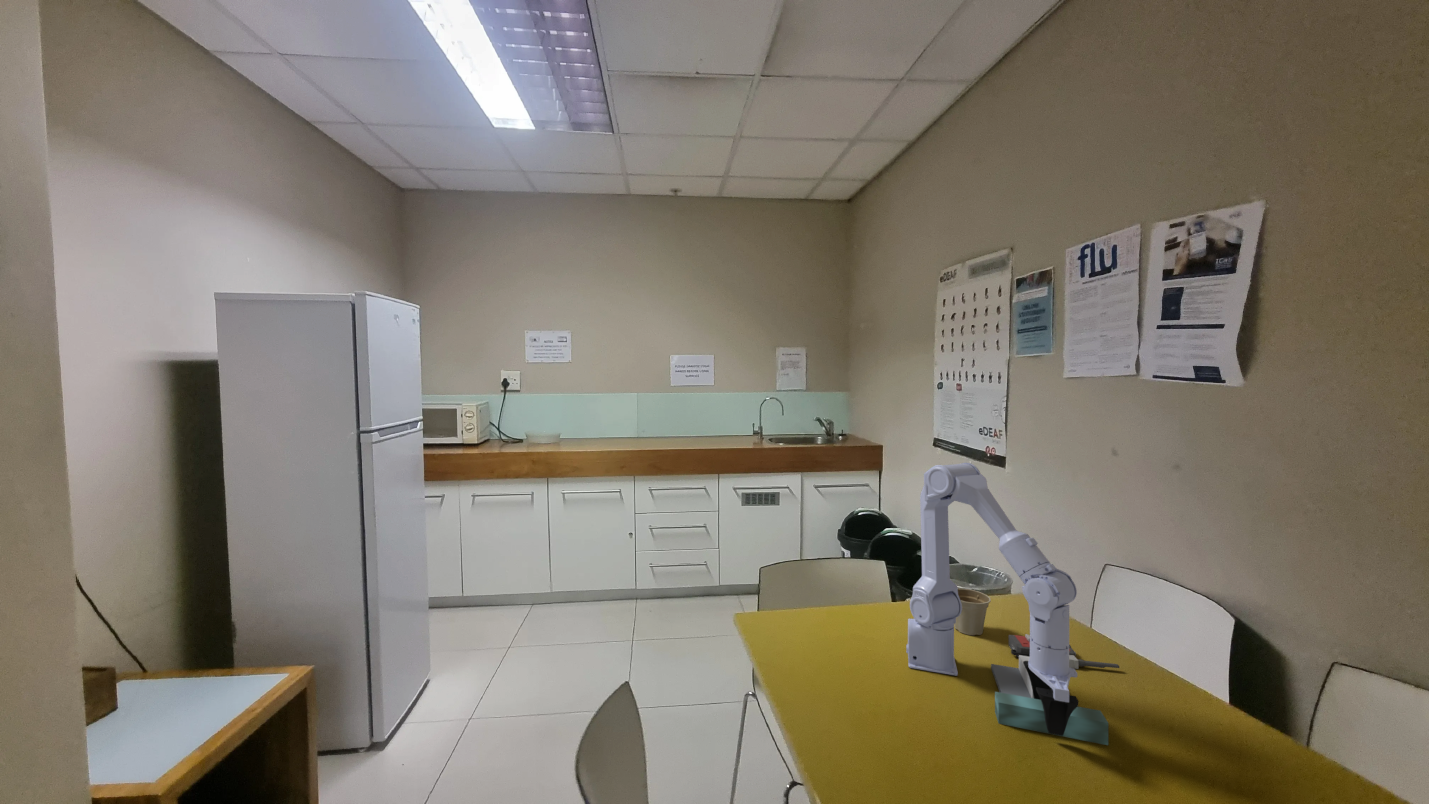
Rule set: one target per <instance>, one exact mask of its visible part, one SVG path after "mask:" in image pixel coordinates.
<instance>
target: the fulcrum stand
mask: <svg viewBox="0 0 1429 804" xmlns="http://www.w3.org/2000/svg"><path fill="white" fill-rule="evenodd" d="M1029 659H1030V657H1028V656H1022V655H1019V658H1018V667H1015V666H1014V667H1012V666H1008V665H1007V666H1006V665H1001V664H1000V665H999V664H994V663H991V665H990V669H991V672H992V675H993V678H994V680H995V683H996V686H997V689H998V692H1000V693H1006V694H1011V695H1017V696H1022V697H1028V698H1033V699H1034V696H1033V691H1032V686H1031V681H1030V678H1029V675H1028V672H1027V670H1026V668H1025V666H1024V664H1023V662H1024V661H1029Z"/></svg>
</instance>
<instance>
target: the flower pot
mask: <svg viewBox="0 0 1429 804" xmlns="http://www.w3.org/2000/svg"><path fill="white" fill-rule="evenodd" d="M958 595H959V598H960V600H961V603H962V612H961V614H960V615H959V616H958V617H956V623H955V624H954V630H957V631H958V632H959V633H961V634H965V635H968V636H975V635H978V636H981V635H982V634H983V632H984V628H985V620H986V615H987V610H988V609H987V608H989V604H990V603H991V600H992V599H991V597H990V596H989V595H988V594H986V593H984V592H980V591H978V590H974V589H969V588H968V589H967V588H958Z"/></svg>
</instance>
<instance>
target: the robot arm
mask: <svg viewBox="0 0 1429 804" xmlns="http://www.w3.org/2000/svg"><path fill="white" fill-rule="evenodd" d="M919 501H920V504H919V505H920V506H919V507H920V510H919V511H920V540H921V542H920V543H921V545H920V546H921V549H920V551H921V577H920V578H919V579H918V580H917V581H916V583H914V585H913V587H912V595H911V597H910V600H909V609H910V613H911V615H912V617H913V618H908V619H907V643H906V649H905V650H906V654H907V658H908V659H907V660H908V663H907V664H908V667H909V668H910V669H915V670H921V671H925V672H926V671H927V672H933V673H938V674H944V675H950V676H956V677H957V676H959V673H958V668H957V664H956V659H955V623H956V617H958V616H959V615H960V614H961V612H962V603H961V600H960V598H959V595H958V589H959V588H958V585H957V584H956V583H955V582H954V581H953V580H951V578H950V577H951V576H950V574H951V572H950V570H951V569H950V539H949V538H950V535H949V530H950V529H949V506H950V505H951V504H953V503H954V502H958V503H961V504H965V505H969V506H971V508H973V510H974V511H975V512H976V514H978V515H979V517H980V518H981V519H982V520H983V522H984V523H985V524H986V526H988V528H989V529H990V530H991V531H992V532H993V533H994V535H995V537H997V539H998V540H999V541H998V543H999V544H998V550H999V552H1000V553H1001V554H1002V555H1003V557H1004V558H1005V559H1006V561H1007V563H1008V564H1009V566H1010V567H1011V568H1012V569H1013V571H1014V573H1016V575H1017V576H1018V577H1019V579H1020V580H1021V581H1022V583H1023V584H1024V585H1022V586H1021V590H1022V595H1023V596H1024V598H1025V600H1026V601H1027V604H1028V611H1029V636H1030V659H1029V661H1024V662H1023V664H1024V666H1025V668H1026V670H1027V672H1028V675H1029V678H1030V681H1031V686H1032V691H1033V696H1034V699H1039V700H1041V702H1042V705H1043V709H1044V715H1045V722H1046V726H1047V730H1048V732H1049V733H1051V734H1050V735H1054V734H1056V735H1055V736H1059V735H1061V736H1060V737H1064V736H1063V734H1064V732H1065V729H1066V725H1067V722H1068V719H1069V717H1070V715H1071V713H1072V712H1073V711H1074V709H1075V708H1076V707H1079V699H1078V698H1077V696H1076V695H1071V694H1070V690H1069V685H1070V682H1071V681H1070V680H1071V678H1077V677H1078V672H1077V671H1076V670H1077V669H1073V668H1070V667H1069V645H1070V605H1069V604H1070V603H1072V602H1073V601H1074V600H1075V599H1076V597H1077V586H1076V584H1075V582H1074V581H1073V578H1072V577H1071V575H1070V574H1068V573H1067V572H1065V571H1064V570H1061V569H1059V568H1057V567H1056V566H1055V564H1053V563H1051V561H1049V560H1048V558H1047V557H1046V556H1045V554H1044V553H1043V551H1041V549H1040V548H1039V547H1038V544H1039V543H1038V542H1037V540H1036V539H1035V538H1034V537H1030V535H1029V534H1028V533H1026V532H1022V531H1019V530H1017V529H1016V528H1015V526H1014V525H1013V523H1012V522H1011V520H1010V518H1009V517H1008V516H1007V515H1006V513H1005V511H1004V510H1003V508H1002V507H1001V505H1000V504H999V503H998V501H997V499H996V498H995V497H994V495H993V494H992V492H991V491H990V489H989V488H988V481H987V478H986V477H985V476H984V475H983V474H981V472H980V470H979V468H978V467H977V466H976V465H975V464H972V463H971V462H962V463H961V462H960V463H955V464H953V463H952V464H943V465H942V464H936V465H933V466H932V467H930V468H929V469H928V470H927V471H925V472H924V473H923V486H922V490H921V492H920V495H919ZM1049 733H1048V734H1049Z"/></svg>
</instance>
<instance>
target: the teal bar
mask: <svg viewBox="0 0 1429 804" xmlns="http://www.w3.org/2000/svg"><path fill="white" fill-rule="evenodd" d="M994 713H995V716H996V719H997V722H998V725H1004V726H1005V725H1006V726H1008V727H1015V728H1018V729H1019V728H1020V729H1024V730H1030V731H1033V732H1034V731H1035V732H1039V733H1044V734H1050V735H1052V734H1051V733H1049V732H1048V730H1047V726H1046V722H1045V715H1044V709H1043V705H1042V702H1041V700H1039V699H1033V698H1028V697H1022V696H1017V695H1011V694H1006V693H1000V692H999V691H994ZM1053 735H1054V736H1057V735H1056V734H1053ZM1058 736H1059V737H1065V738H1068V739H1069V738H1070V739H1074V740H1078V741H1079V740H1080V741H1084V742H1088V743H1095V744H1099V745H1106V746H1109V722H1108V720H1107V719H1106V717H1105V715H1104V713H1103V712H1102V711H1101V710H1098V709H1093V708H1088V707H1083V706H1082V707H1081V706H1078V707H1076V708H1075V709H1074V711H1073V712H1072V713H1071V715H1070V717H1069V719H1068V722H1067V725H1066V729H1065V732H1064V734H1063V736H1061V735H1058Z"/></svg>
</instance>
